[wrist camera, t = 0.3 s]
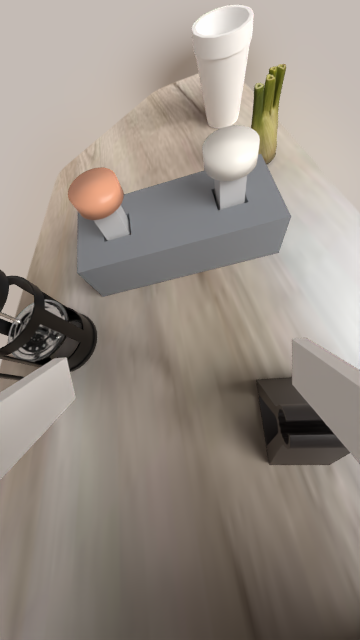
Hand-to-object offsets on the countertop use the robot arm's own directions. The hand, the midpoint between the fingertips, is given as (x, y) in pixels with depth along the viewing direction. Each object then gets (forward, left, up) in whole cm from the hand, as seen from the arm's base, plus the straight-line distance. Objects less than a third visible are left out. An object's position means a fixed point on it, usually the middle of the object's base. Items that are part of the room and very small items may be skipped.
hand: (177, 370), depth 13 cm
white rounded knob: (+23, -9, -12) cm, 28 cm away
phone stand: (-5, -9, -17) cm, 20 cm away
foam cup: (+52, -15, -17) cm, 57 cm away
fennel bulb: (+37, -18, -17) cm, 45 cm away
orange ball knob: (+23, +7, -12) cm, 27 cm away
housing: (+23, -1, -17) cm, 29 cm away
